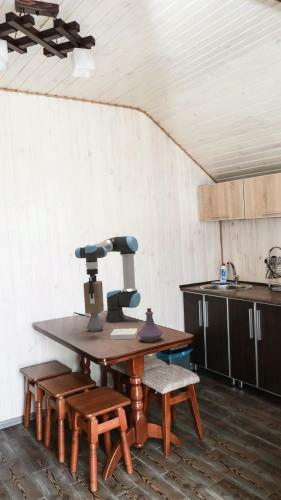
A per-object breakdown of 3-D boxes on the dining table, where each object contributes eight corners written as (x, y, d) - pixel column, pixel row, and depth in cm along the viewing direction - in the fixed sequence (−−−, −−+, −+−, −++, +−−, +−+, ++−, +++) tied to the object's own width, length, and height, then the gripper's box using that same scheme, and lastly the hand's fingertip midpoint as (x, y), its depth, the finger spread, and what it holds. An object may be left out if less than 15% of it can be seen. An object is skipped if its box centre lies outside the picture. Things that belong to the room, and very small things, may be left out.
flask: (169, 339, 272) (167, 307, 272) (150, 345, 261) (149, 312, 260) (150, 335, 284) (148, 305, 283) (132, 341, 273) (130, 309, 272)
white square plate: (114, 333, 295) (113, 329, 295) (137, 332, 293) (137, 328, 293) (110, 339, 279) (110, 335, 279) (135, 338, 277) (135, 334, 277)
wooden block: (99, 313, 281) (97, 282, 280) (85, 313, 283) (83, 283, 282) (104, 310, 291) (102, 280, 290) (89, 310, 293) (88, 281, 292)
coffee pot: (100, 327, 314) (98, 307, 313) (106, 330, 304) (104, 309, 303) (71, 332, 305) (70, 311, 304) (76, 335, 294) (75, 313, 294)
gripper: (89, 267, 297) (91, 299, 298) (82, 270, 274) (84, 305, 276) (100, 266, 297) (102, 298, 298) (94, 270, 274) (96, 304, 275)
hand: (94, 301), depth 287 cm, fingers closed on wooden block, 10 cm apart
